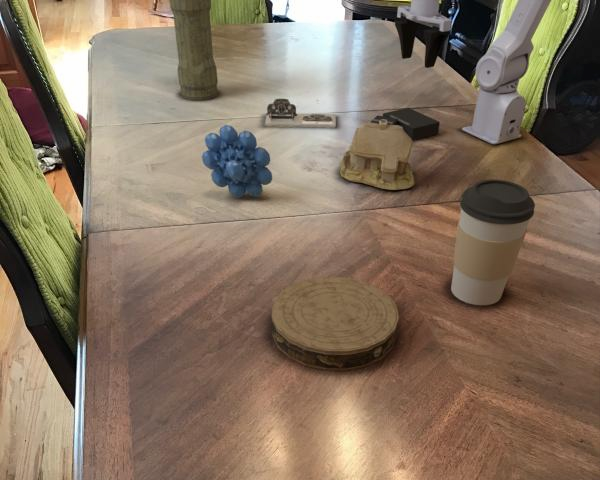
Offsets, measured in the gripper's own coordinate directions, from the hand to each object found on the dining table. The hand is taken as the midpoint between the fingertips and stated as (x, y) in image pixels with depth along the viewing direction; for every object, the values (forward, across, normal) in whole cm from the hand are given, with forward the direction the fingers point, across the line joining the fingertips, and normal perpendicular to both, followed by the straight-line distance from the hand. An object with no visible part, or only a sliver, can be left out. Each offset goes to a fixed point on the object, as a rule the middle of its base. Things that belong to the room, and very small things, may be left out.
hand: (417, 62), depth 132 cm
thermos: (+10, -33, -37) cm, 50 cm away
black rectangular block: (+9, +10, -16) cm, 21 cm away
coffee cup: (+10, +62, -40) cm, 74 cm away
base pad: (+9, +10, -9) cm, 16 cm away
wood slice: (+10, +59, -62) cm, 86 cm away
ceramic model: (+10, +25, -29) cm, 39 cm away
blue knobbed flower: (+10, +20, -55) cm, 59 cm away
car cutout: (+10, -6, -26) cm, 28 cm away
